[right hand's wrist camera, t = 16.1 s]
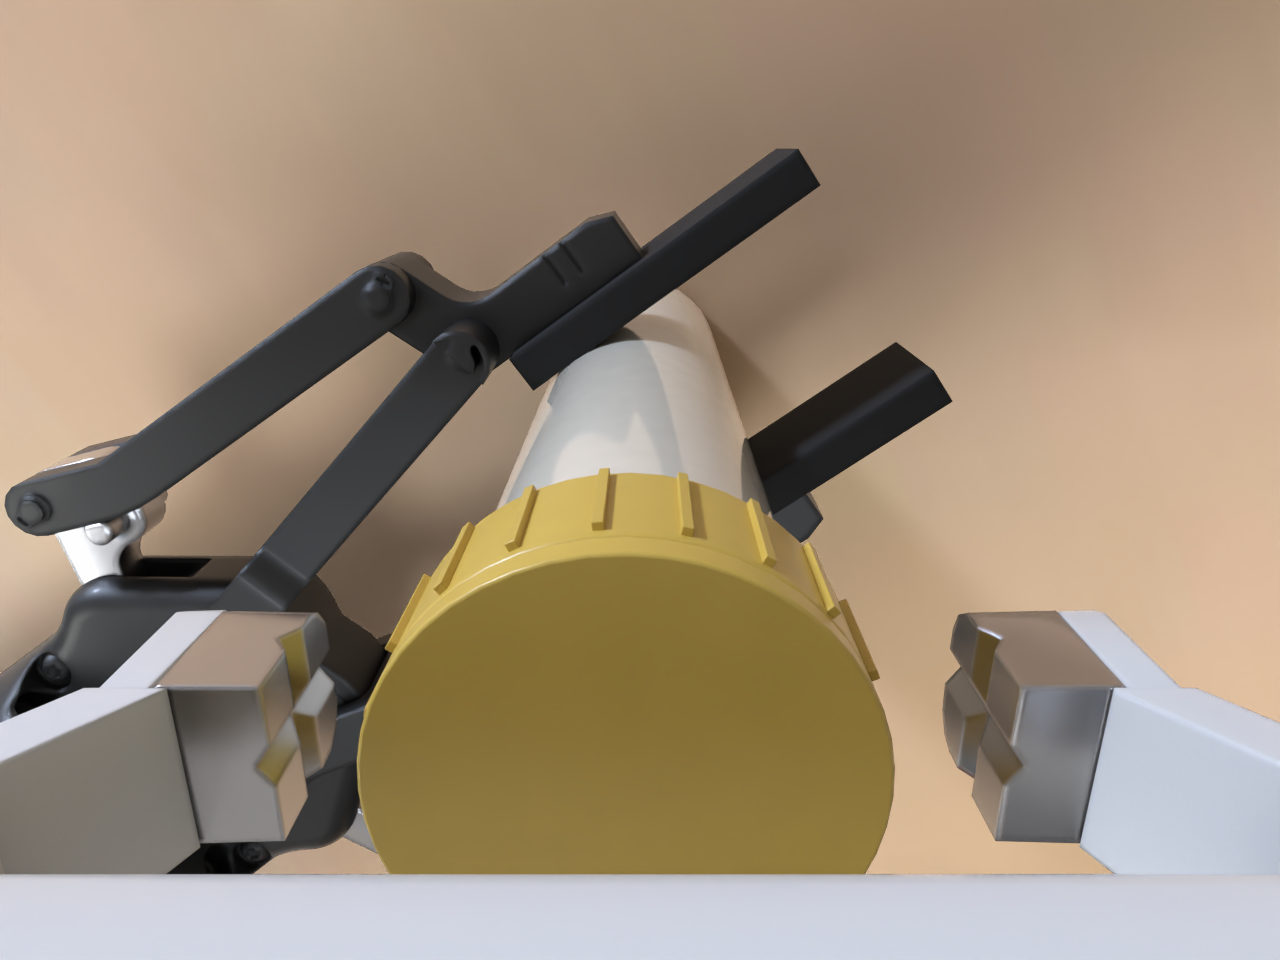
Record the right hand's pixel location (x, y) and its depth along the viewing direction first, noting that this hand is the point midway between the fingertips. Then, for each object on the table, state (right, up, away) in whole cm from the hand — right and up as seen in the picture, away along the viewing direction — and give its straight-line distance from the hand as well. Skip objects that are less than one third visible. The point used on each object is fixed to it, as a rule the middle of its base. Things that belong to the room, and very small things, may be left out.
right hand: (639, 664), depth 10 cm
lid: (0, -1, -2) cm, 2 cm away
